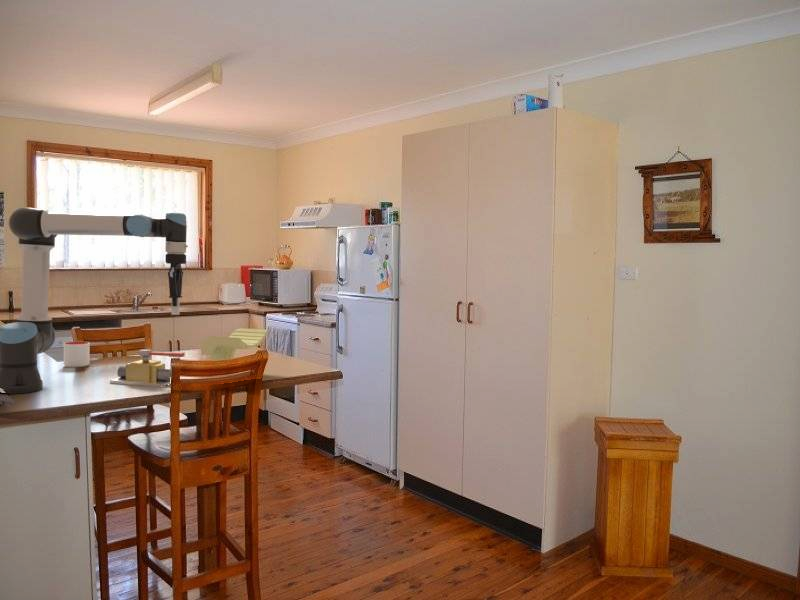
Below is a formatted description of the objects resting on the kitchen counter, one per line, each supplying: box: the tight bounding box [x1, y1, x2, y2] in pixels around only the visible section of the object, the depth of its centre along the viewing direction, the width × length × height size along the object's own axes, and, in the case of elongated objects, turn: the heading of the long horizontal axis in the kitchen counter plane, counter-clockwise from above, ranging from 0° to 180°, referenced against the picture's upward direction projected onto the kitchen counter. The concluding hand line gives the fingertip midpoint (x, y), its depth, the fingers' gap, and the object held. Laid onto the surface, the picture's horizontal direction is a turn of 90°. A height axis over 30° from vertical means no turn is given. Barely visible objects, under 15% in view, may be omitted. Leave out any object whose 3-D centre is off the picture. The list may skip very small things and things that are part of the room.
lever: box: [139, 349, 185, 358], centre depth 240 cm, size 17×4×2 cm, turn 84°
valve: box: [109, 356, 172, 388], centre depth 241 cm, size 22×12×10 cm, turn 80°
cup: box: [63, 341, 91, 368], centre depth 270 cm, size 10×10×10 cm
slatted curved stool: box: [200, 327, 269, 361], centre depth 262 cm, size 30×16×18 cm, turn 171°
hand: (175, 314), depth 242 cm, fingers closed
